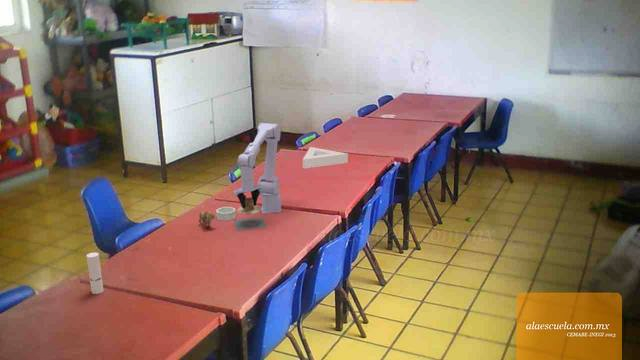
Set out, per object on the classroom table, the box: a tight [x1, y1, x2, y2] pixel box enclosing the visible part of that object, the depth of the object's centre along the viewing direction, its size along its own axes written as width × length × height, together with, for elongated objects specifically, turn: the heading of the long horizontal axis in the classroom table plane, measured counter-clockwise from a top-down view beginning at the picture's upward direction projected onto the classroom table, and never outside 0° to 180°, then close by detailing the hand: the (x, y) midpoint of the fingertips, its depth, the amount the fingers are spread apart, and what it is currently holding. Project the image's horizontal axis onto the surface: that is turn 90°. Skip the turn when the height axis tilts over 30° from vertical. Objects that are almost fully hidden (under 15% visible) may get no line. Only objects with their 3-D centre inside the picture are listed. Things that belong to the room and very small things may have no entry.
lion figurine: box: [198, 210, 216, 231], centre depth 306 cm, size 15×5×9 cm, turn 36°
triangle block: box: [302, 146, 349, 169], centre depth 406 cm, size 30×26×6 cm
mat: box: [233, 216, 268, 232], centre depth 308 cm, size 14×14×1 cm
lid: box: [236, 196, 262, 215], centre depth 305 cm, size 11×11×6 cm
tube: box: [86, 252, 104, 295], centre depth 244 cm, size 4×4×15 cm
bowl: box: [215, 206, 237, 222], centre depth 317 cm, size 9×9×4 cm
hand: (248, 206), depth 306 cm, fingers closed on lid, 5 cm apart
